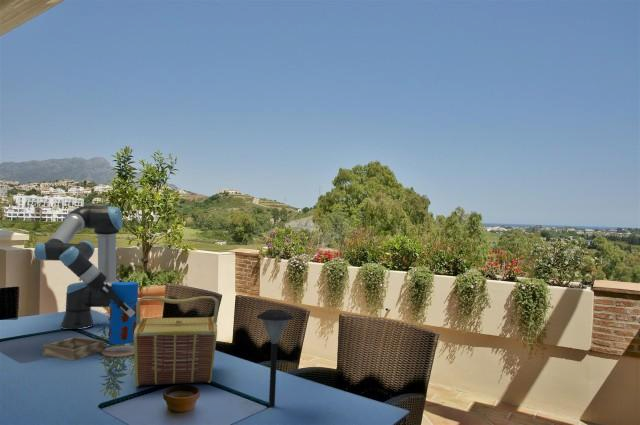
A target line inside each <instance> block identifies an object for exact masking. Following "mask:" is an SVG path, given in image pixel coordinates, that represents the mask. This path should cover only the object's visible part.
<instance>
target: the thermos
mask: <svg viewBox="0 0 640 425" xmlns="http://www.w3.org/2000/svg"><path fill="white" fill-rule="evenodd" d="M111 289H112V290H113V291H114V294H116V295H117V296H118V297H119V298H120V299H121V300H122V301H124V302H125V303H126V304H127V305H128V306H129V307H130V308H131V309H132V310H133V311H134V312H135V314H134V315H133V316H132V317H131V318H130V317H129V316H128V315H127V314H126V313H125V312H124V311H123V310H122V309H121V308H117V307H118V305H117V304H116V303H115V302H114V301H113V300H112V299H111V304H110V307H109V308H110V309H109V322H108V323H109V326H108V343H109V344H113V345H127V344H132V343H134V330H135V328H136V326H137V319H136V303H137V300H138V299H139V296H138V295H139V283H138V282H135V281H133V282H132V281H119V282H115V283H112V287H111ZM120 302H121V301H120ZM120 302H119V303H120ZM119 303H118V304H119Z"/></svg>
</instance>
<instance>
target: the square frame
mask: <svg viewBox="0 0 640 425" xmlns="http://www.w3.org/2000/svg"><path fill="white" fill-rule="evenodd" d="M105 342H106V341H105V340H99V339H92V338H86V337H78V336H74V337H70V338H67V339H62V340H58V341H55V342H51V343H47V344H43V345H42V356H44V357H50V358H58V359H63V360H67V361H68V360H69V361H76V360H79V359H83V358H85V356H86V357H89V356H92V355H95V354H98V353H102V350H104V349H106V348H105V347H106V346H105V345H106V343H105ZM97 352H98V353H97ZM91 354H92V355H91ZM88 355H89V356H88Z"/></svg>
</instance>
